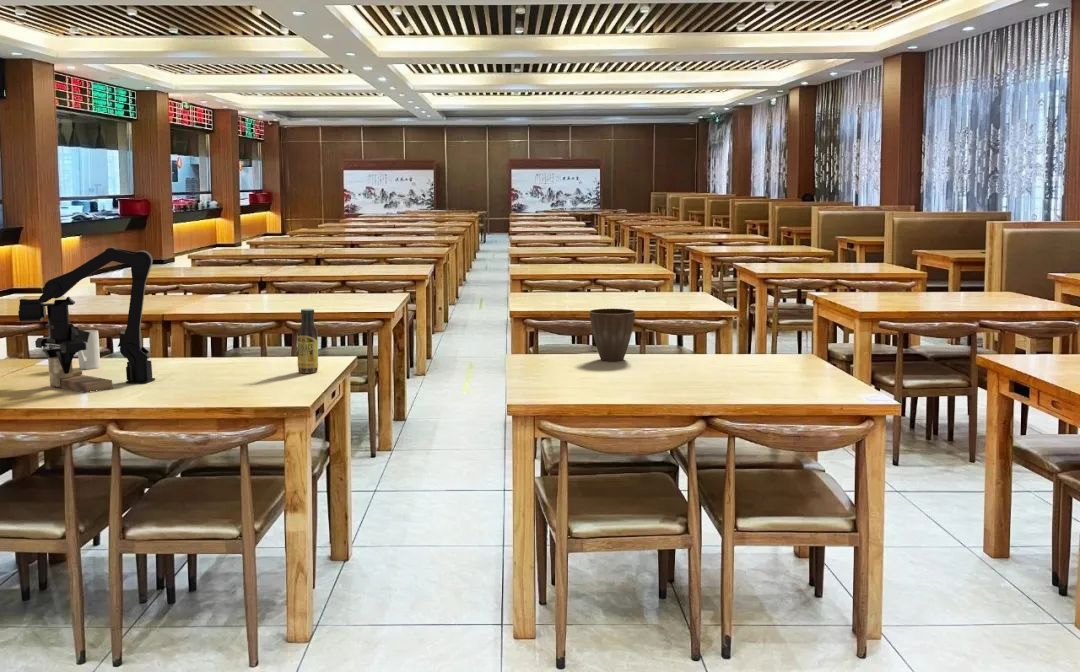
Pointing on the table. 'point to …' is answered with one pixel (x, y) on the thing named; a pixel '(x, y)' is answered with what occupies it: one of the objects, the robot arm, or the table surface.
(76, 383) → the walnut board
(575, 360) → the table surface
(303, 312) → the sauce bottle
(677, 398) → the table surface
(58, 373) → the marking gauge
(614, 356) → the plant pot
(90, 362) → the mug
